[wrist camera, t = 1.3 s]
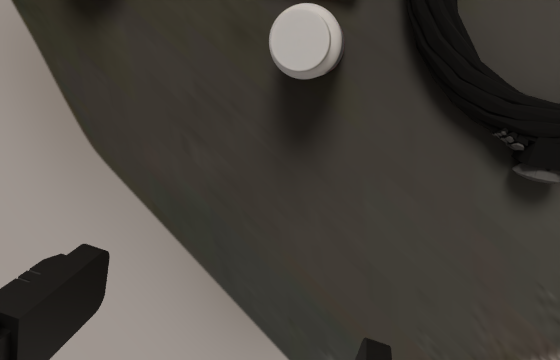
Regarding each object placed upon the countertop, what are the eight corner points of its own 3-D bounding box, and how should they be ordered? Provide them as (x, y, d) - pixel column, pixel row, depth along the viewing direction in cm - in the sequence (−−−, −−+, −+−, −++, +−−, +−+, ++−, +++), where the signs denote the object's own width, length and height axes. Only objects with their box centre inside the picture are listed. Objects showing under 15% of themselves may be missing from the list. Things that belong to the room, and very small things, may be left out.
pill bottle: (335, 3, 36) (329, -15, 27) (351, 66, 37) (350, 68, 28) (274, 23, 37) (250, 12, 29) (291, 84, 38) (273, 90, 30)
